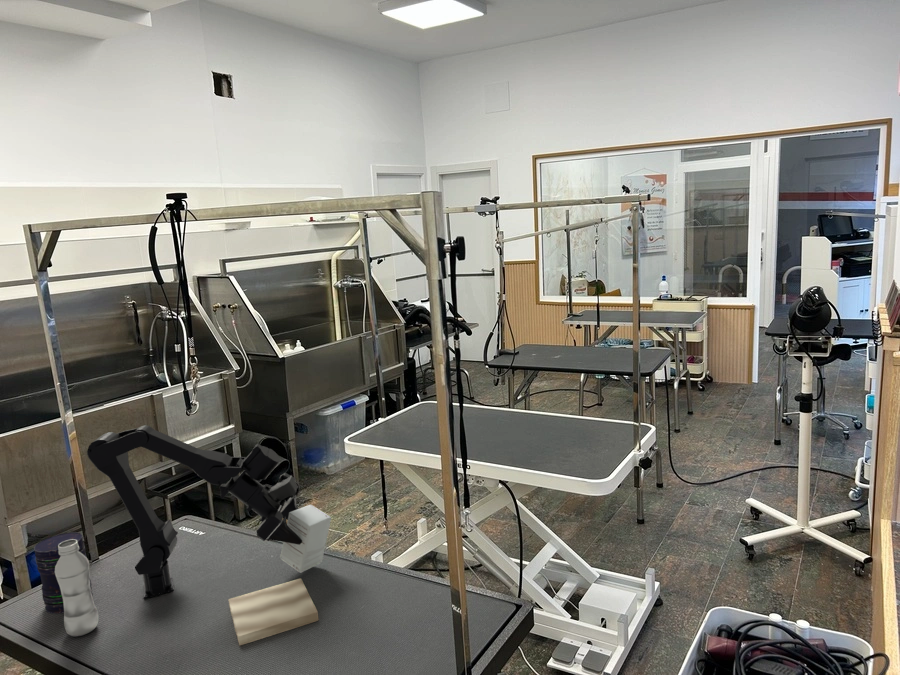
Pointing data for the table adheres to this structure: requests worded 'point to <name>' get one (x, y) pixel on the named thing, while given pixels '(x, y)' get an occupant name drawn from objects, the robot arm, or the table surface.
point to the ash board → (272, 611)
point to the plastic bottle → (75, 589)
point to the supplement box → (306, 538)
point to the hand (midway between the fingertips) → (304, 533)
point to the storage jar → (53, 568)
